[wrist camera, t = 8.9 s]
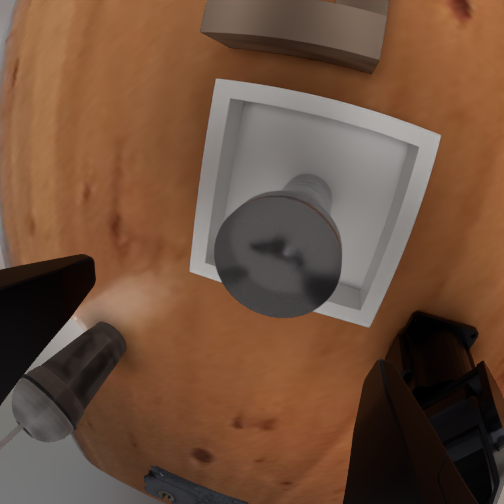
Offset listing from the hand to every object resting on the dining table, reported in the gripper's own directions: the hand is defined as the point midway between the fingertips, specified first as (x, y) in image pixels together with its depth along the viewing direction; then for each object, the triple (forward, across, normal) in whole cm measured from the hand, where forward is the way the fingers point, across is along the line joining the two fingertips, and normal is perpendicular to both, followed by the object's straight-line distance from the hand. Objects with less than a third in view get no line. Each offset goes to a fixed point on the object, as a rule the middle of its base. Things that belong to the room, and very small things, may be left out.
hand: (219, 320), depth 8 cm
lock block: (+13, +2, -14) cm, 19 cm away
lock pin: (+12, -1, -1) cm, 12 cm away
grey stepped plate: (+14, +2, +62) cm, 64 cm away
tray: (+13, -1, -1) cm, 13 cm away
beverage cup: (+13, +16, +21) cm, 29 cm away
